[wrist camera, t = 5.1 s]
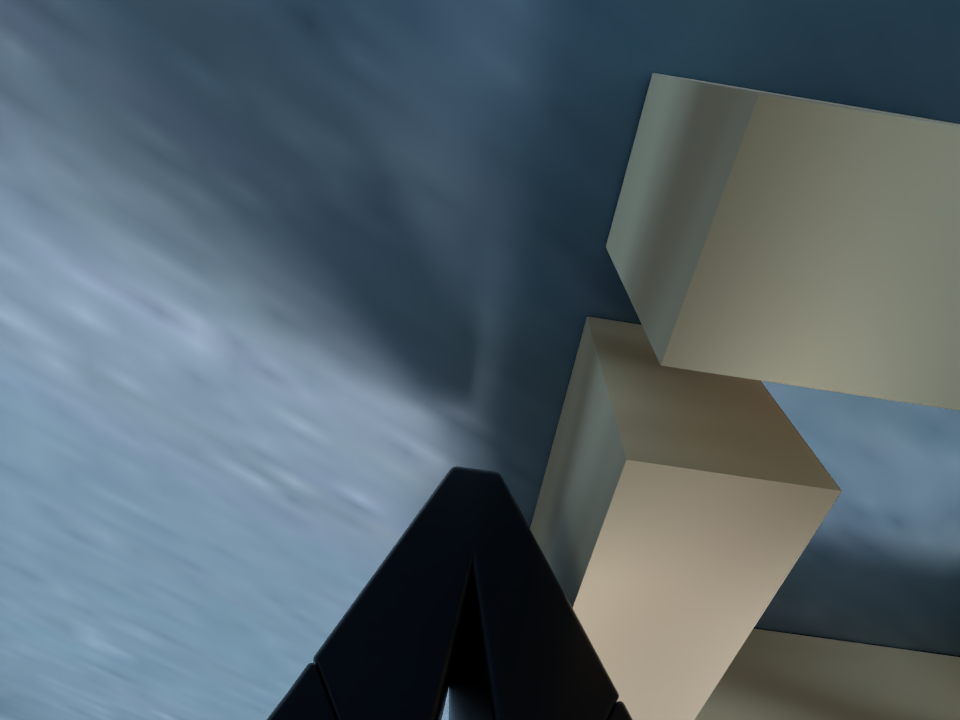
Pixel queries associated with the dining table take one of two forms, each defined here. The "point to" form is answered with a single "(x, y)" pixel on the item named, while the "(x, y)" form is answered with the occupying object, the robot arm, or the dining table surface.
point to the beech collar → (748, 394)
